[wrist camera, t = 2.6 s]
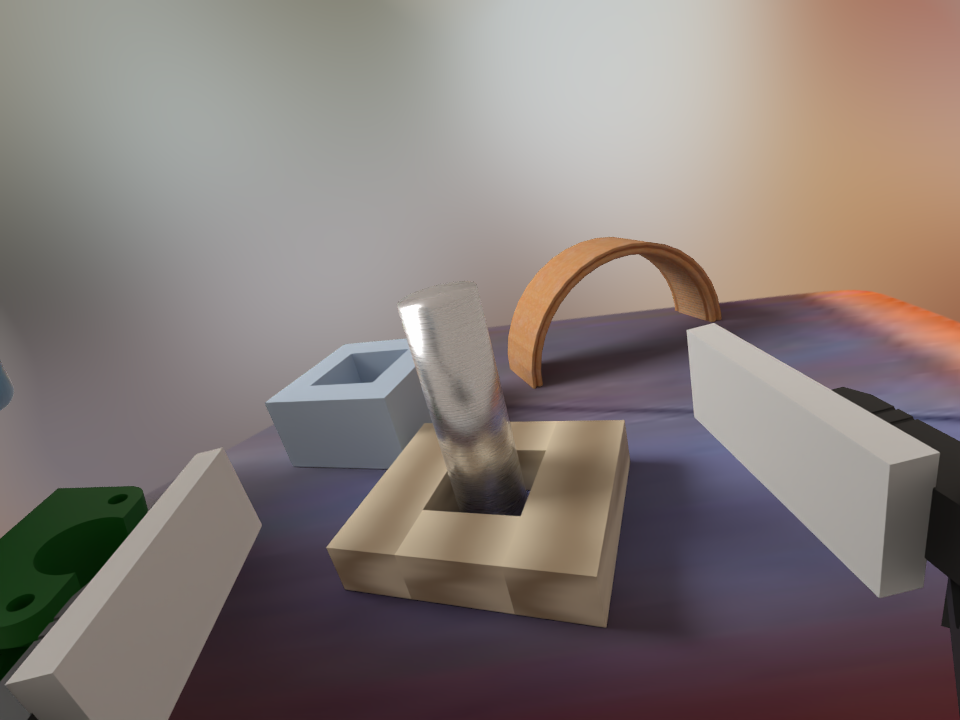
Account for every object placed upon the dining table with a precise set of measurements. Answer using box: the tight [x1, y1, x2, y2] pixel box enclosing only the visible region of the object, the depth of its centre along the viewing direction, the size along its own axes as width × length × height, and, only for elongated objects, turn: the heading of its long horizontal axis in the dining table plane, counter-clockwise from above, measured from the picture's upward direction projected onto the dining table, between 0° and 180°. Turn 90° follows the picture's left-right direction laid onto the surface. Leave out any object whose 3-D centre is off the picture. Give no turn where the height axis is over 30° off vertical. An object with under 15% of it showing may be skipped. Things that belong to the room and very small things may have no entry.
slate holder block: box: [265, 339, 432, 469], centre depth 42 cm, size 11×11×6 cm
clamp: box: [0, 486, 148, 681], centre depth 30 cm, size 12×6×9 cm, turn 177°
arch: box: [508, 237, 721, 389], centre depth 47 cm, size 6×20×10 cm, turn 108°
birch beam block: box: [326, 420, 630, 628], centre depth 29 cm, size 14×12×3 cm
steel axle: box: [397, 281, 528, 516], centre depth 27 cm, size 4×4×14 cm
